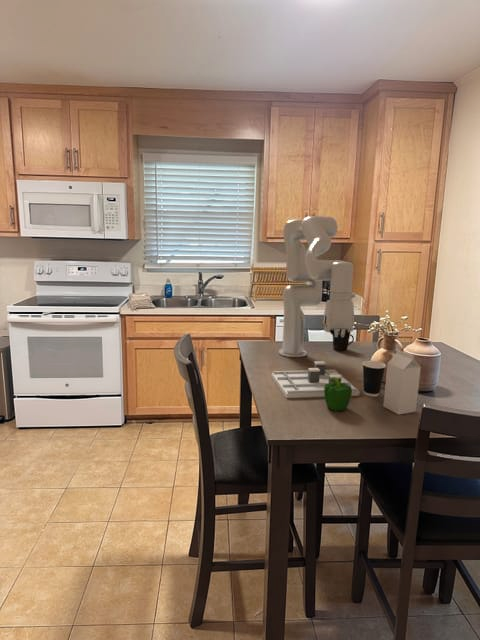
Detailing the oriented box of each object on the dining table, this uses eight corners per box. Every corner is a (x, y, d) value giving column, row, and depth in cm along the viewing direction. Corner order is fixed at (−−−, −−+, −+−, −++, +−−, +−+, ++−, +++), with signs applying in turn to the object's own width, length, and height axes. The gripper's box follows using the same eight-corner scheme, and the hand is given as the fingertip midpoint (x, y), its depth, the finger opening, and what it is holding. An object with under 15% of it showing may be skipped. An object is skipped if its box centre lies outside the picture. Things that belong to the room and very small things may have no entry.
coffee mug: (328, 347, 219) (330, 327, 217) (345, 347, 220) (347, 327, 218) (336, 354, 208) (337, 332, 206) (354, 353, 209) (355, 333, 207)
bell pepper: (354, 412, 142) (357, 382, 140) (331, 414, 140) (333, 383, 138) (341, 402, 150) (343, 373, 148) (319, 404, 148) (321, 375, 145)
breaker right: (328, 387, 158) (329, 374, 158) (337, 386, 159) (338, 374, 158) (330, 389, 156) (331, 376, 155) (340, 389, 157) (341, 376, 156)
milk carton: (398, 415, 140) (404, 356, 137) (382, 406, 147) (388, 350, 143) (415, 412, 143) (422, 354, 139) (399, 404, 150) (405, 348, 146)
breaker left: (313, 372, 174) (314, 361, 173) (322, 372, 174) (323, 361, 174) (315, 374, 172) (316, 363, 171) (324, 374, 172) (325, 363, 171)
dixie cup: (386, 393, 159) (389, 363, 157) (378, 400, 153) (381, 368, 150) (364, 388, 164) (367, 359, 161) (356, 394, 157) (358, 364, 155)
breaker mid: (307, 380, 165) (308, 368, 164) (317, 379, 166) (317, 367, 165) (309, 382, 163) (310, 370, 162) (319, 381, 164) (319, 369, 163)
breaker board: (271, 376, 173) (271, 371, 173) (335, 375, 178) (336, 369, 177) (286, 398, 152) (286, 391, 152) (359, 395, 156) (359, 389, 156)
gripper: (356, 295, 164) (352, 344, 168) (316, 295, 162) (314, 345, 165) (364, 298, 157) (361, 349, 160) (323, 298, 155) (321, 350, 158)
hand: (337, 347), depth 163 cm, fingers closed
